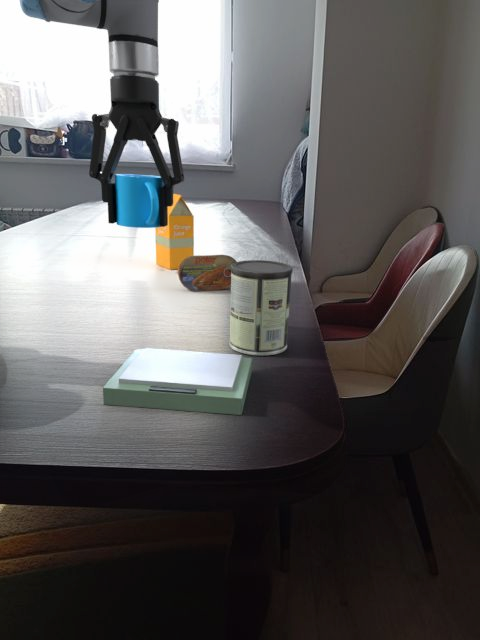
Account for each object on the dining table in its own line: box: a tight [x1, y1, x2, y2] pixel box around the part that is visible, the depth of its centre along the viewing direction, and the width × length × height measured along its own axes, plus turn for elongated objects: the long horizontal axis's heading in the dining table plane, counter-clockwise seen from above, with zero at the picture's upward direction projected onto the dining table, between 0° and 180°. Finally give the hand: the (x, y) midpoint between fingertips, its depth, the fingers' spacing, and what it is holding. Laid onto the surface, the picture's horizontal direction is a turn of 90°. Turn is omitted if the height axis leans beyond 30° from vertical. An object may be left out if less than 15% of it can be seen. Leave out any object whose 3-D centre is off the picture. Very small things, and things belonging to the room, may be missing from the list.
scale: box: [102, 347, 253, 416], centre depth 72 cm, size 18×14×3 cm
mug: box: [114, 173, 164, 229], centre depth 87 cm, size 12×8×8 cm
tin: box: [177, 254, 238, 292], centre depth 124 cm, size 15×3×8 cm, turn 112°
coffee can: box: [228, 259, 294, 357], centre depth 87 cm, size 10×10×14 cm
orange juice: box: [155, 193, 195, 271], centre depth 145 cm, size 8×9×20 cm
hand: (138, 224), depth 89 cm, fingers closed on mug, 8 cm apart
